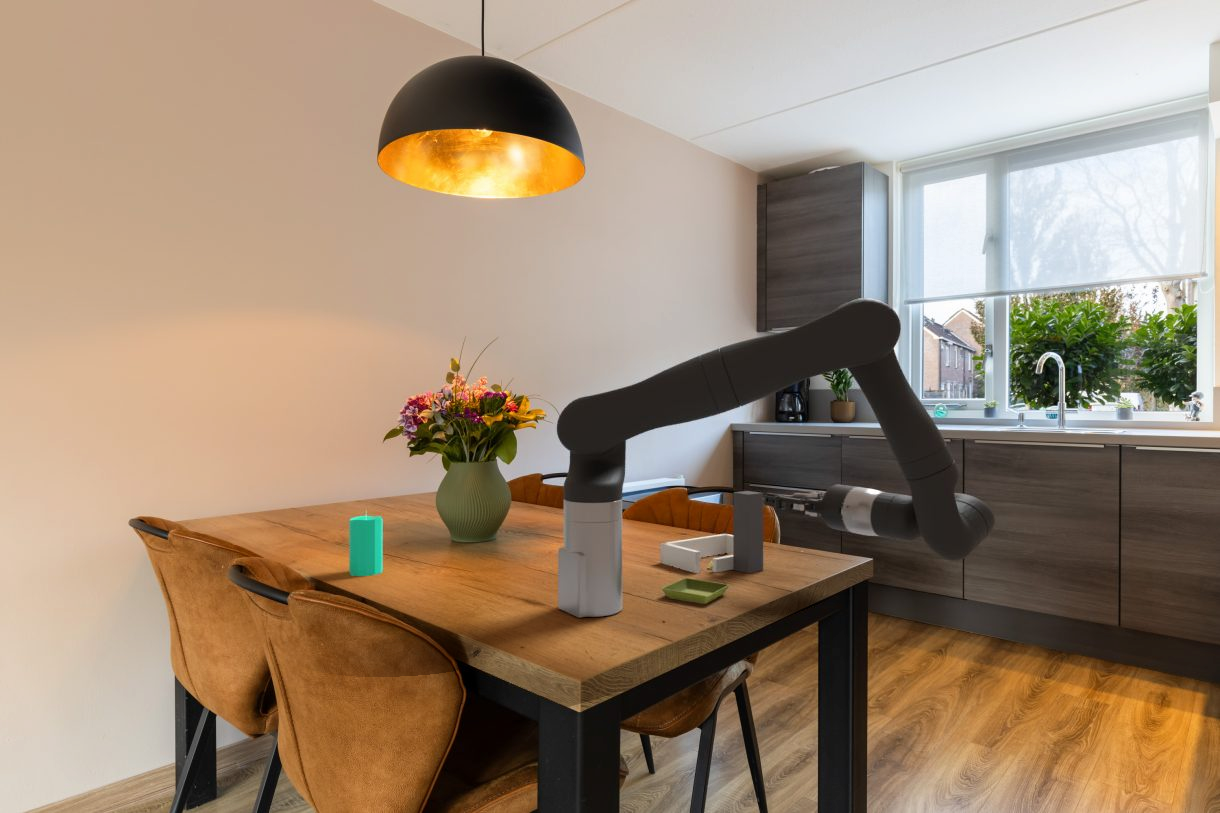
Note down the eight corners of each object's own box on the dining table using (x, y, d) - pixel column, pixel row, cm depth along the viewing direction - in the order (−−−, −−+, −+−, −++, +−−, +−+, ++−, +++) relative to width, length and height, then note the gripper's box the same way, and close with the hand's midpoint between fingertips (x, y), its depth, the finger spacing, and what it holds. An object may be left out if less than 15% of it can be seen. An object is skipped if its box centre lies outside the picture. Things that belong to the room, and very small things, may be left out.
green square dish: (707, 609, 109) (707, 596, 109) (660, 600, 114) (660, 588, 114) (730, 596, 117) (730, 584, 117) (684, 589, 121) (684, 577, 121)
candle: (372, 576, 129) (372, 512, 129) (343, 575, 130) (343, 511, 130) (388, 569, 135) (388, 507, 135) (359, 568, 136) (359, 507, 136)
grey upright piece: (731, 576, 129) (731, 496, 129) (712, 571, 133) (712, 493, 133) (779, 567, 136) (779, 491, 136) (760, 562, 140) (760, 488, 140)
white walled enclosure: (695, 573, 131) (695, 552, 131) (660, 563, 140) (660, 543, 140) (762, 560, 142) (762, 541, 142) (725, 551, 150) (725, 533, 150)
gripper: (884, 485, 117) (806, 475, 130) (831, 489, 108) (754, 478, 122) (883, 529, 117) (805, 515, 130) (830, 537, 109) (752, 520, 122)
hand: (780, 497), depth 126 cm, fingers open, 8 cm apart
